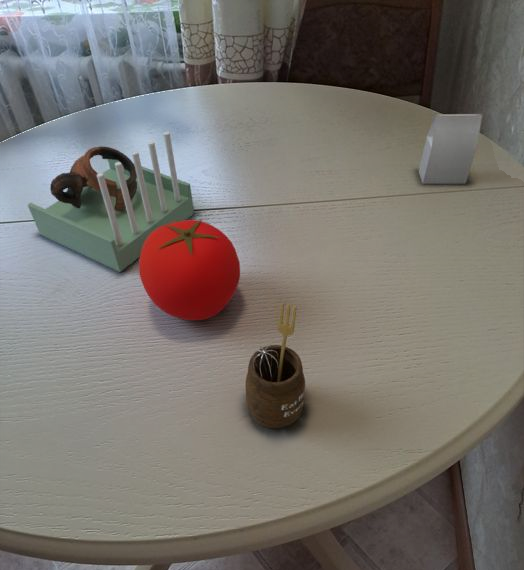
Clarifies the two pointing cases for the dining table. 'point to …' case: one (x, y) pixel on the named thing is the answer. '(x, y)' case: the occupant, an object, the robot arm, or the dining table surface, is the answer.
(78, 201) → the brown curved ring piece
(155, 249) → the tomato
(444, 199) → the dining table surface
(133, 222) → the dish rack
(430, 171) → the grey block
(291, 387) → the utensil holder
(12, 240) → the dining table surface
